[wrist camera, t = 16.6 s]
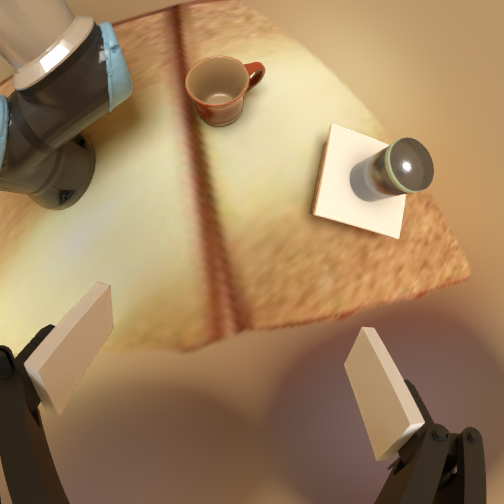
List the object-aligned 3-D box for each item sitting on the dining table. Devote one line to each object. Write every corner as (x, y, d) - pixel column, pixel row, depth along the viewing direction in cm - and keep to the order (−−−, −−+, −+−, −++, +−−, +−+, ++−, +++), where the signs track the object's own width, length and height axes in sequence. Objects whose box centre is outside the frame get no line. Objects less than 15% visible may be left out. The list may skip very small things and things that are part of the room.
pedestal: (302, 217, 44) (315, 214, 37) (318, 138, 44) (332, 123, 37) (377, 238, 45) (398, 238, 38) (389, 163, 45) (409, 154, 38)
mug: (209, 141, 43) (202, 116, 33) (185, 102, 42) (174, 72, 32) (272, 110, 43) (282, 80, 33) (246, 74, 42) (250, 40, 32)
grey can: (345, 195, 38) (388, 180, 26) (352, 155, 37) (393, 128, 25) (382, 207, 38) (431, 198, 26) (387, 168, 38) (435, 149, 26)
